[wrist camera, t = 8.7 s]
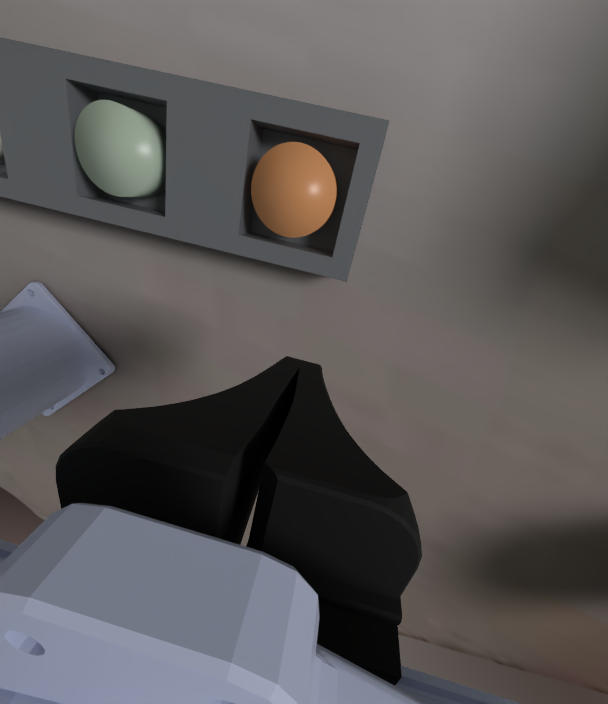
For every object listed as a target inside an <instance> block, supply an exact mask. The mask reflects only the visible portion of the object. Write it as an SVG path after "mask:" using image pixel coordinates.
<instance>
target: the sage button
mask: <svg viewBox="0 0 608 704" xmlns="http://www.w3.org/2000/svg"><path fill="white" fill-rule="evenodd" d="M75 147H76V152H77V155H78V158H79V161H80V163H81V165H82V167H83V169H84V171H85V173H86V174H87V176H88V177H89V178H90V179H91V181H92V182H93V183H94V184H95V185H96V186H98V187H99V188H100V189H101V190H103V191H105V192H106V193H108V194H111V195H114V196H119V197H141V198H149V197H154V196H157V195H158V194H160V193H161V192H163V191H164V190H165V189H166V134H165V132H164V131H163V129H162V128H161V127H160V126H159V125H158V124H157V122H155V121H154V120H153V119H152V118H150V117H149V116H147V115H145V114H143V113H141V112H138V111H136V110H134V109H131V108H129V107H126V106H124V105H122V104H119V103H117V102H114V101H111V100H97V101H94V102H92V103H90V104H89V105H87V106H86V107H85V108H84V109H83V110H82V112H81V113H80V115H79V117H78V119H77V122H76V127H75Z"/></svg>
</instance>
